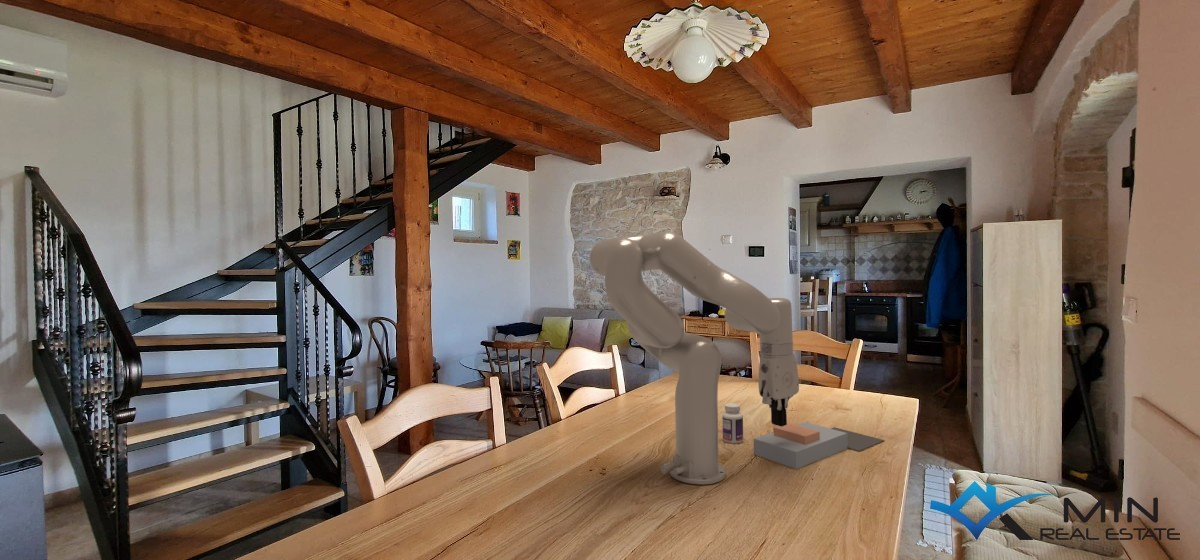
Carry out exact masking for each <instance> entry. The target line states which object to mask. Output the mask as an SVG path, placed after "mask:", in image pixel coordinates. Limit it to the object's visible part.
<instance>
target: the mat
mask: <svg viewBox="0 0 1200 560" xmlns="http://www.w3.org/2000/svg"><path fill="white" fill-rule="evenodd" d="M830 429H833V430H837V431H841V432H845V433H847V449H846V450H852V451H855V452H858V453H860V452H862V451H864V450H867V449H870V448H872V447H874V446H876V445H879V444H883V443H884V442H885V440H886V439H881V438H878V437H874V436H870V435H867V434H863V433H858V432H855V431H850V430H847V429H842V428H839V427H835V426H834V427H832V428H830Z"/></svg>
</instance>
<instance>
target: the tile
mask: <svg viewBox="0 0 1200 560" xmlns="http://www.w3.org/2000/svg"><path fill="white" fill-rule="evenodd" d="M797 425H798V424H793V423H789V422H787V425H785V426H782V427H781V426H778V425H776V426H774V427H773V432H774V436H778V437H781V438H784V439H788V440H791V441H794V442H798V443H801V444H804V445H806V444H809V443H812V442H815V441H817V440H820V432H819V431H815V430H812V429H808V428H804V427H801V426H797Z"/></svg>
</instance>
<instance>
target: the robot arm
mask: <svg viewBox="0 0 1200 560" xmlns="http://www.w3.org/2000/svg"><path fill="white" fill-rule="evenodd" d="M589 263H590V266H591V268H592V269H593V270H594V271H595V272H596V273H597V274H598V275H600V276H602V277H604V286H605V292H606V297H607V298H608V301H609V303H610V305H611V306H612V308H613V309H614V310H615V311H616V313H617V314H619V315H620V317H622V319H624V320H625V321H626V322H627V330H628V332H629V335H630V336H631V338H632V339H633V340H634V341H635V342H636V343H637V344H638V345H639V346H641V348H643V349H644V350H645V351H646V352H647V353H648V354H650V355H651V356H652V357H654V359H656V360H657V361H658V362H659V363H660V364H661V365H663V366H664V367H666V368H667V369H669V370H672V371H674V372H677V373H679V375H678V380H677V383H676V386H675V391H674V393H675V395H674V407H675V409H674V410H675V414H674V415H675V416H674V417H675V419H674V420H675V454H673V455H672V460H671V461H670V462H667V463H663V464H660V466H659V469H660V472H661V474H664V475H665V474H667V473H669V475H670V476H671V477H672V478H673V479H674V480H677V481H679V482H682V483H685V484H691V485H712V484H717V483H719V482H721V481H722V480H724V479H725V477H726V475H727V474H726V469H725V467H724V466H723V465H722V464H720V463H719V412H718V411H719V406H718V404H719V403H718V401H719V400H718V398H719V397H718V396H719V395H718V392H719V391H718V390H719V388H718V387H719V378H720V373H721V367H722V354H721V350H720V349H719V347H718V346H717V344H716V343H715V342H714V341H712V340H711V339H710V338H709V337H705V336H703V335H698V334H694V333H689V332H685V324H684V322H683V319H682V318H681V317H680V315H679V314H678V313H677V312H676V311H675V310H673V309H672V308H671V307H670V306H669V305H668V304H666V303H665V302H664V301H663V300H662V299H661V298H660V297H659V296H657V295H656V294H655V293H654V292H653V291H652V290H651V289H650V288H649V287H648V286H647V284H646V283H645V281H644V279H643V272H646V271H651V270H653V271H654V270H660V271H662V272H663V273H664V274H665V275H667V276H668V277H669V278H671V279H672V280H673V281H675V282H676V283H677V284H678V285H680V286H681V287H683V288H684V289H685V290H686V291H687V292H688V293H689V294H691V295H693V296H694V297H696V298H698V299H700V300H702V301H705V302H708V303H711V304H714V305H717V306H720V307H722V308H724V309H725V311H724V318H725V321H726V323H727V324H728V325H729V326H730V327H731V328H733V329H735V330H737V331H738V330H739V331H741V332H748V333H755V334H759V347H760V349H759V351H760V352H759V354H760V356H759V357H760V358H759V363H758V378H757V379H758V393H759V396H760V397H762V400H761V402H762V403H761V404H764V405H768V406H769V409H770V414H771V415H770V418H771V424H772V425H774V426H781V427H782V426H785V425H787V423H788V422H787V419H788V418H787V416H788V415H787V409H788V407H789V401H790V399H792V398H793V397H794V396H795V395H797V394H798V393H799V391H800V384H799V383H800V382H799V381H800V380H799V372H798V364H797V360H796V354H795V353H794V337H793V314H792V311H793V309H792V302H791V300H789V299H788V298H785V297H768V296H767V295H766V294H764V293H763V292H762V291H760V290H759V289H758V288H756V287H755V286H754V285H751V284H750V283H749V282H747V281H746V280H743V279H741V278H739V277H738V276H736V275H734V274H733V273H731V272H729V271H727V270H725V269H723V268H721V267H719V266H718V265H716V264H715V263H714V262H713V261H711V260H710V259H709V258H708V257H707V256H705V254H702V253H701V252H700V251H699V250H698V249H697V248H695V246H693V245H691V244H690V243H689V242H688V241H687V240H686V239H684V238H683V237H682V236H681V235H679V234H677V233H676V232H672V231H661V232H655V233H649V234H645V235H637V236H631V237H624V236H622V237H621V236H620V237H613V238H608V239H603V240H601V241H599V242H597V243H596V244H595V245H594V246H593V247H592V249H591V251H590V253H589Z"/></svg>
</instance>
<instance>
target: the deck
mask: <svg viewBox="0 0 1200 560" xmlns="http://www.w3.org/2000/svg"><path fill="white" fill-rule="evenodd" d="M796 425H797V426H801V427H804V428H808V429H812V430H815V431H819V432H820V440H817V441H815V442H812V443H809V444H806V445H804V444H801V443H798V442H794V441H791V440H788V439H784V438H781V437H778V436H774V431H773V432H770V433H767V434H763V435H761V436H757V437H754V438H753V455H754V456H758V457H760V458H763V459H766V460H769V461H772V462H774V463H778V464H779V465H782V466H785V467H789V468H791V469H795V470H797V469H800V468H802V467H805V466H808V465H810V464H811V465H812V464H813V463H815V462H817V461H820V460H823V459H825V458H828V457H831V456H833V455H836V454H838V453H841V452H842V451H845V450H848V449H847V433H845V432H841V431H837V430H833V429H831V428H829V427H825V426H821V425H817V424H815V423H809V422H807V421H806V422H805V421H804V422H801V423H798V424H796Z"/></svg>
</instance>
